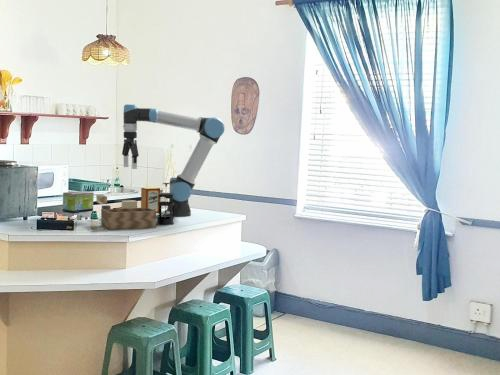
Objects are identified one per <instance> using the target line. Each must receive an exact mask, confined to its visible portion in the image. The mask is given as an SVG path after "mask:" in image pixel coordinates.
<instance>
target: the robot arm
mask: <svg viewBox="0 0 500 375" xmlns="http://www.w3.org/2000/svg"><path fill="white" fill-rule="evenodd" d="M138 122H147V123H154V124H159V125H165V126H170V127H171V126H172V127H175V128H180V129H181V128H182V129H187V130H192V131H196V133H198V135H199V139H198V141H197V143H196V145H195V147H194V149H193V151H192V153H191V155H190V157H189V158H188V161H187V163H186V164H185V166H184V168H183V170H182V172H181V173H180V174H178V175H177V176H176V177H170V179H169V182H168V183H170V184H169V193H172V194H174V195H173V198H170V199H169V200H168V202H175V217H191V214H192V213H191V212H192V210H191V207H190V204H189V199H190V197H191V195H192V192H193V189H194V187H195V186H196V182H195V180H196V178H197V176H198V175H199V172H200V170H201V168H202V167H203V165H204V163H205V161H206V159H207V157H208V156H209V153H210V151H211V149H212V147H213V146H214V145H216V144H217V143H218V142H219V140H220V138H221V136H222V135H223V134H224V133H225V123H224V121H222V119H220V118H218V117H216V116H215V117H214V116H213V117H201V116H198V117H193V116H189V115H188V116H187V115H184V114H178V113H172V112H166V111H162V110H158V109H157V108H152V107H149V108H146V107H145V108H144V107H141V108H139V107H138V106H137V105H136V104H127V103H126V104H124V106H123V126H122V127H123V146H122V152H121V155H123V168H129V152H130V151H131V154H132V155H131V169H132V170H137V169H138V166H137V165H138V157H139V156H140V155H139V148H138V144H137V138H138V136H137V135H138V133H137V131H138ZM166 211H170V206H166ZM165 215H166V216H168V217H170V214H165Z"/></svg>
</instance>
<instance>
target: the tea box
mask: <svg viewBox="0 0 500 375" xmlns="http://www.w3.org/2000/svg"><path fill="white" fill-rule="evenodd" d="M94 193H95V192H92V191H84V190H81V191H80V190H79V191H78V190H77V191H68V192H62V215H63V216H68V217H71V216H74V215H77V219H79V220H80V219H85V218H92V217H91V213H92V212H93V213H94ZM62 215H61V216H62ZM77 219H76V220H77Z"/></svg>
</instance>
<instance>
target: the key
mask: <svg viewBox="0 0 500 375" xmlns="http://www.w3.org/2000/svg"><path fill="white" fill-rule="evenodd" d="M95 201H96V203H97V204H99V205H107V204H108V196H106V195H104V194H96V200H95Z"/></svg>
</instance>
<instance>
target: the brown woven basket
mask: <svg viewBox="0 0 500 375" xmlns="http://www.w3.org/2000/svg"><path fill="white" fill-rule="evenodd" d="M100 221H101V222H100V226H101V227H102V228H104V227H105V229H106V230H108V231H115V230H135V229H154V228H157V213H156V211H155V210H152V209H150V208H141V207H137V208H120V207H119V208H111V205H109V204H108V205H107V204H103V205H101V212H100Z"/></svg>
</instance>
